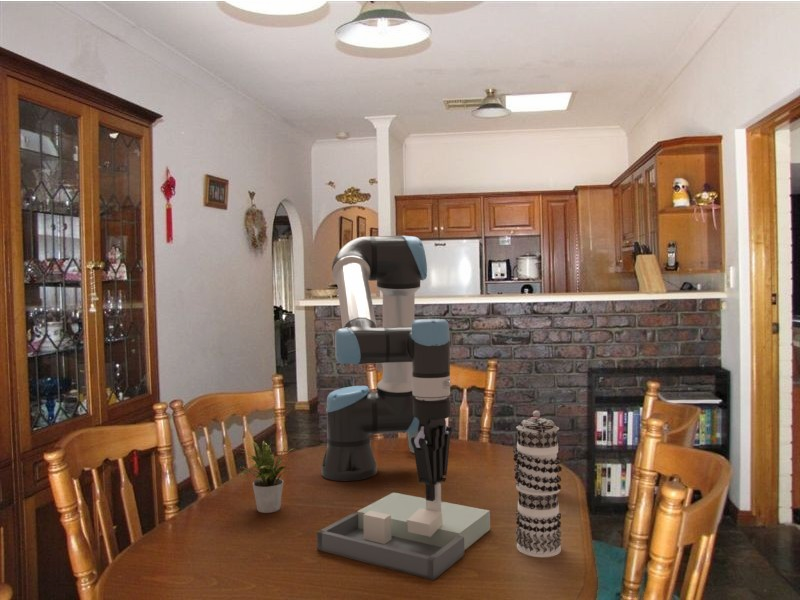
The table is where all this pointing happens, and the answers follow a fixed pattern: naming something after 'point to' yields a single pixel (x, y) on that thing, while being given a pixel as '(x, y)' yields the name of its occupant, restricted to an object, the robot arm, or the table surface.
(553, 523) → the black and white jar
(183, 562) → the table surface
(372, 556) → the tray
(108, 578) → the table surface
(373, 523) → the tile
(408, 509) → the board
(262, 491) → the house plant
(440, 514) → the tile
